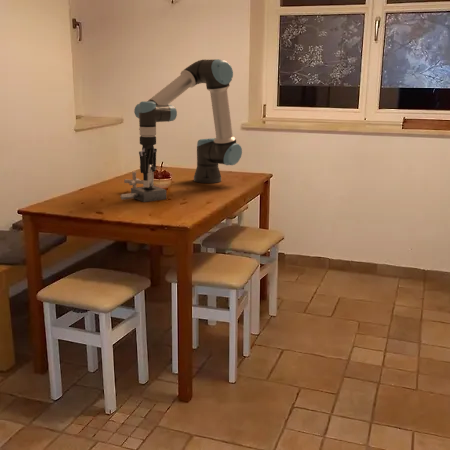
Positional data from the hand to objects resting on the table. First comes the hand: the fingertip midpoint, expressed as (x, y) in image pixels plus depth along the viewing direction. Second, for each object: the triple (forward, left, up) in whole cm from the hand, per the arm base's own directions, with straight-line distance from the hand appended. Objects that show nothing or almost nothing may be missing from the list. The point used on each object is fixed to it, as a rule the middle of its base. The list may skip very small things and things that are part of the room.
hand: (148, 186), depth 277 cm
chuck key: (0, 0, -4) cm, 4 cm away
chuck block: (+4, 0, -6) cm, 7 cm away
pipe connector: (-2, -17, -6) cm, 18 cm away
